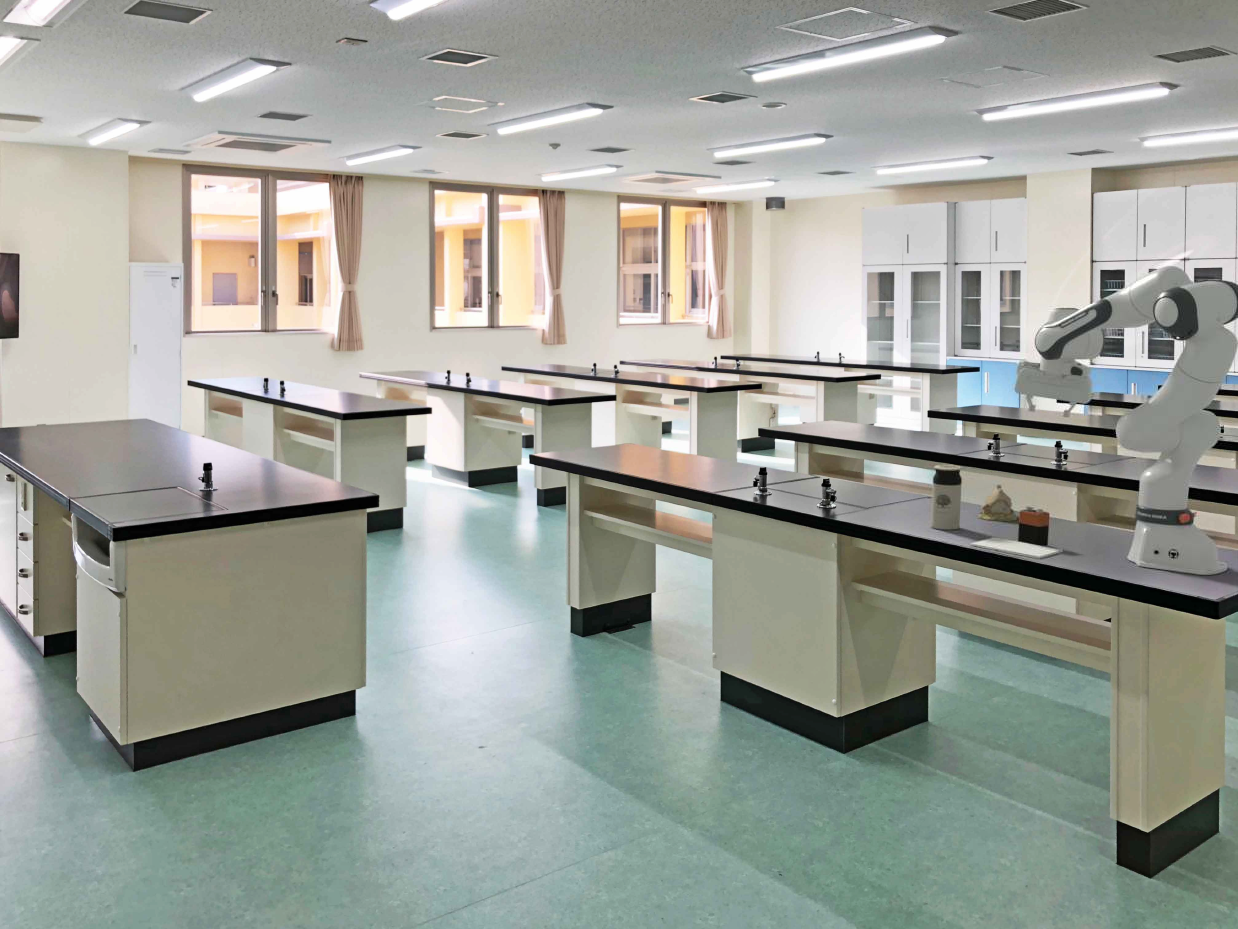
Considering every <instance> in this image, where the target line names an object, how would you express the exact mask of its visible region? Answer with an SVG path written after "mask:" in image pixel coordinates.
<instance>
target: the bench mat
mask: <svg viewBox="0 0 1238 929" xmlns="http://www.w3.org/2000/svg"><path fill="white" fill-rule="evenodd" d="M969 546H971V547H974V546H977V547H976V548H980V547H981V549H985V548H986V549H985V550H990V549H993V550H992V551H995V550H998V551H997V552H1001V553H1007V554H1013V555H1018V556H1023V557H1028V558H1032V559H1033V558H1034V559H1038V560H1039V559H1044V558H1046V557H1050V556H1054V555H1057V554H1060V553H1063V552H1064V549H1062V548H1054V547H1049V546H1039V545H1034V544H1028V543H1023V542H1018V540H1011V539H1005V538H999V537H995V536H994V537H990V538H986V539H982V540H979V541H975V542H971V543H969Z"/></svg>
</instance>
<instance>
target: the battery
mask: <svg viewBox="0 0 1238 929" xmlns="http://www.w3.org/2000/svg"><path fill="white" fill-rule="evenodd" d="M1018 517H1019V518H1018V535H1017V536H1018V537H1017V542H1023V543H1028V544H1034V545H1039V546H1045V547H1047V546H1048V544H1049V528H1050V512H1049V511H1044V509H1040V508H1038V509H1035V507H1034V506H1025V509H1021V510H1019V516H1018Z"/></svg>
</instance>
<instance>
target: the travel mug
mask: <svg viewBox="0 0 1238 929" xmlns="http://www.w3.org/2000/svg"><path fill="white" fill-rule="evenodd" d="M934 469H935V474H934V475H933V477H932V498H931V515H930V516H931V518H930V520H931V521H930V526H931V527H932V528H934V529H936V530H941V531H954V530H958V529H959V528H960V527H961V526H960V525H961V522H960V521H961V502H962V483H963V482H962V480H963V479H962V476H961V474H960V472H961V470H962V467H961V466H959V465H953V464H952V465H951V464H939V465H934Z"/></svg>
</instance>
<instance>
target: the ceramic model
mask: <svg viewBox="0 0 1238 929" xmlns="http://www.w3.org/2000/svg"><path fill="white" fill-rule="evenodd" d="M1012 506H1013V502H1012V498H1011V496H1009V495H1008V494H1006V493H1005V491H1004V490H1003V489H1002V485H1001V484H997V485H996V487H995V488H994V489H993V490H992V491H991V492H990V493H989V494H988V496H987V497H986V499H985V501H984V502H983V503H982V504H981V506H980V508H981V509H982V511H980V512H979V514H978V518H980V519H984V520H986V521H999V522H1000V521H1002V522H1011V521H1012V520H1013V521H1016V520H1017V519H1018V516H1017V514H1016V511H1014V509H1013V508H1012Z"/></svg>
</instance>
